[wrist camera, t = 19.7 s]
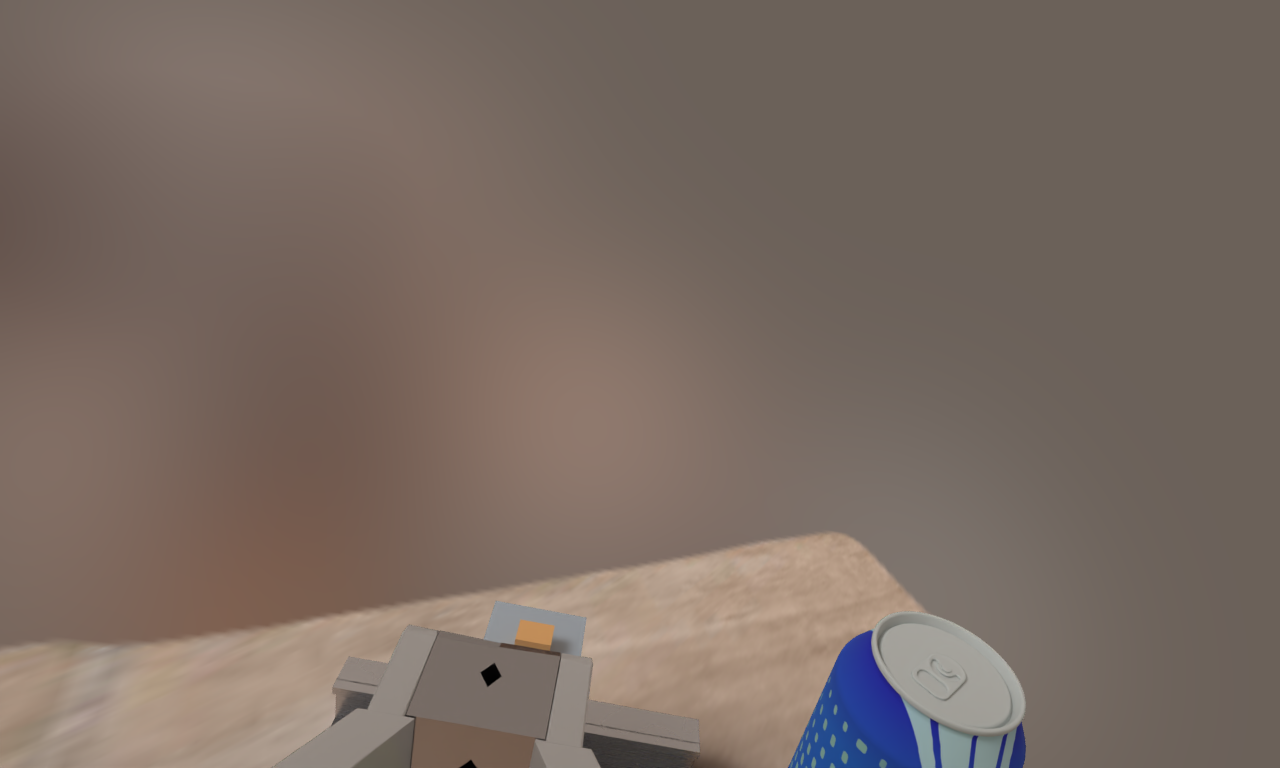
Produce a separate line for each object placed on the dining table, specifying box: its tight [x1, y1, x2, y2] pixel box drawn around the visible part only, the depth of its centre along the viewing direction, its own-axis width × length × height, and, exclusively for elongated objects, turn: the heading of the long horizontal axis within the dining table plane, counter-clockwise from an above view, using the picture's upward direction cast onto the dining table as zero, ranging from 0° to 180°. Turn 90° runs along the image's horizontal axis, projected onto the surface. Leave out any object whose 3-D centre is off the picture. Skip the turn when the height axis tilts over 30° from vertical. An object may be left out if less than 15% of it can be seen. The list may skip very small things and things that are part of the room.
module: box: [484, 601, 586, 656], centre depth 35 cm, size 4×5×12 cm
